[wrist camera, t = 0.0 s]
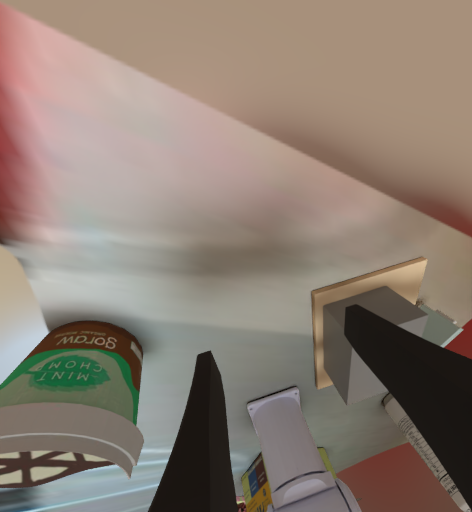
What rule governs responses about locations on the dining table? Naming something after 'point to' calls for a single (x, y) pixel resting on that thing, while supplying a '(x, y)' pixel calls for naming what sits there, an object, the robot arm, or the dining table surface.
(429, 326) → the grey-green rectangular block
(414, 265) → the beech board
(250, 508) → the protein box
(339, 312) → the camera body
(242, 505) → the plate of assorted food
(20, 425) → the food container
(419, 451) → the energy drink can
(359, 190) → the dining table surface
